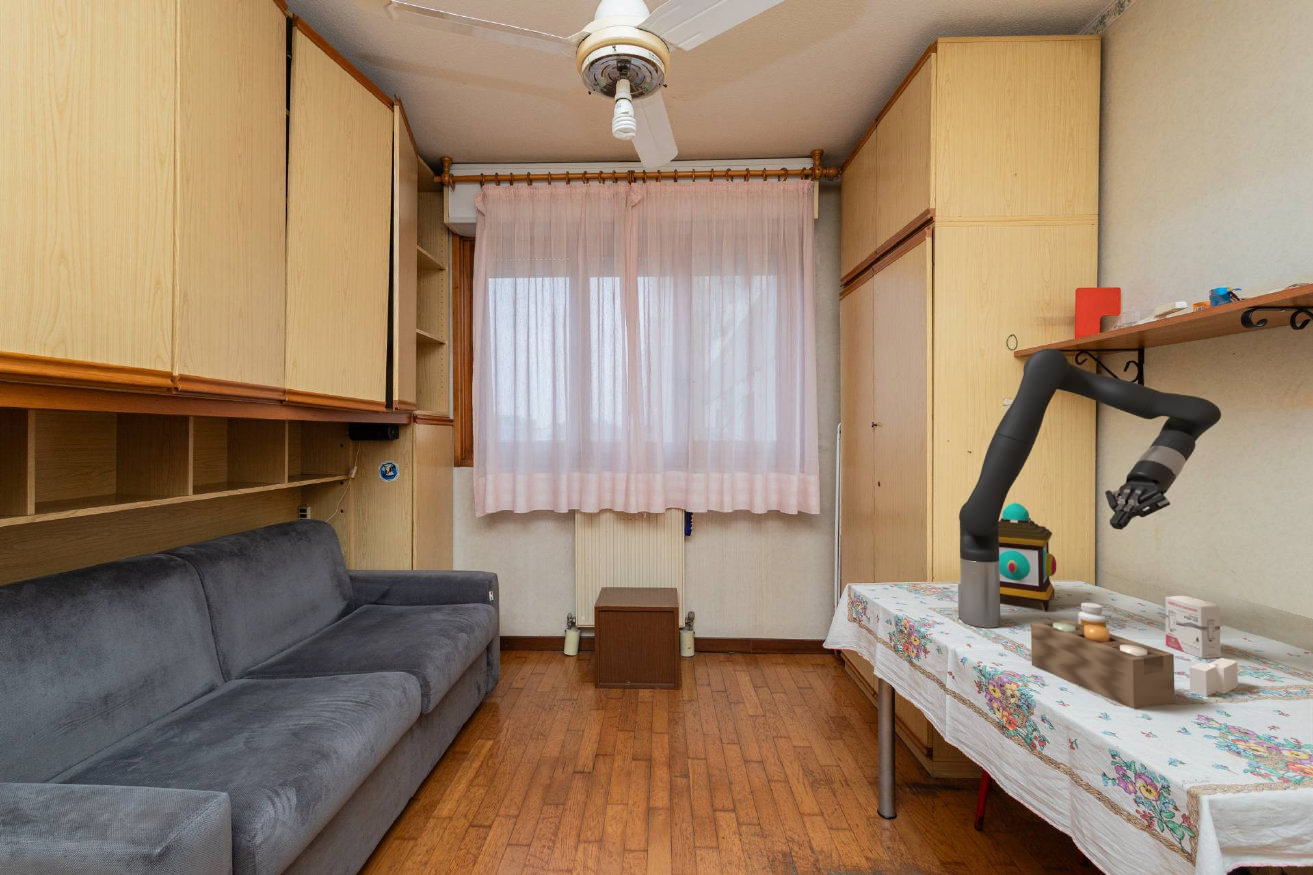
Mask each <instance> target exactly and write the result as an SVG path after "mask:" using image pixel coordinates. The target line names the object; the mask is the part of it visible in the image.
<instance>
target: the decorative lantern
mask: <svg viewBox="0 0 1313 875" xmlns="http://www.w3.org/2000/svg"><path fill="white" fill-rule="evenodd" d="M1001 514H1002V516H1001V518H1000V519H999V522H998V528H999V572H1000V597H1006V598H1013V599H1019V600H1026V601H1032V602H1039V603H1041V606H1042V610H1043V612H1045V613H1047V612H1048V611H1049V608H1050V601H1051V600H1053V599H1054V598H1055V588H1054V586H1053V584H1052V582H1051V580H1050V577H1053V576H1054V575H1055V574H1056V573H1057V560H1056V558H1055V556H1054V554H1051V553H1049V552H1050V550H1049V547H1050V546H1049V544H1050V543H1049V542H1050V540H1051V538H1052V536H1053V532H1052V531H1050V529H1049V528H1047V527H1046V526H1045V525H1044V526H1043V525H1039V524H1038V523H1036V522H1035V521H1034V520H1032V519H1031V517H1030V513H1029V510H1028V509H1026V507H1025V506H1024V505H1022V504H1020V503H1017V502H1013V503H1010V504H1008V505H1007V506H1006V507H1005V508H1003V509H1002V512H1001Z"/></svg>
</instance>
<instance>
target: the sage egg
mask: <svg viewBox="0 0 1313 875" xmlns="http://www.w3.org/2000/svg"><path fill="white" fill-rule="evenodd" d="M1053 627H1054V628H1057V629H1060V630H1063V631H1065V632H1067V631H1076V627H1075V626H1074V625H1071V624H1067V623H1060V622H1056V623H1053Z"/></svg>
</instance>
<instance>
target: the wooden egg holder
mask: <svg viewBox="0 0 1313 875" xmlns="http://www.w3.org/2000/svg"><path fill="white" fill-rule="evenodd" d="M1056 622H1060V623H1067V624H1071V625H1074V626H1075V627H1076V631H1067V632H1065V631H1063V630H1060V629H1057V628H1054V627H1053V623H1056ZM1030 635H1031V636H1030V637H1031V638H1030V639H1031V640H1030V641H1031V643H1030V644H1031V646H1030V647H1031V648H1030V649H1031V666H1033V667H1035V668H1037V669H1039V670H1043V671H1044V672H1046V673H1049V674H1051V675H1054V676H1056V677H1059V678H1060V679H1063V680H1065V681H1067V682H1070V683H1072V684H1074V685H1077V686H1080V687H1082V688H1084V689H1086V690H1089V691H1091V692H1094V693H1095V694H1098V695H1100V696H1103V697H1104V698H1107V699H1109V700H1112V701H1114V702H1117V703H1119V704H1122V705H1123V706H1125V707H1128V708H1130V709H1133V708H1134V709H1133V710H1136V709H1135V708H1137V709H1143V708H1148V706H1149V707H1153V706H1160V705H1167V704H1171V703H1170V702H1173V703H1175V702H1176V701H1175V700H1176V698H1175V697H1176V696H1175V693H1176V692H1175V659H1174V657H1175V656H1174V655H1175V654H1174V653H1171V652H1168V651H1166V650H1162V649H1159V648H1156V647H1153V646H1150V645H1147V644H1144V643H1140V642H1137V641H1134V640H1131V639H1128V638H1126V637H1125V638H1124V637H1121V636H1120V635H1115V634H1112V633H1109V642H1104V643H1098V642H1095V641H1092V640H1089V639H1086V638H1084V625H1081V624H1078V622H1075V621H1072V620H1068V619H1065V620H1064V619H1063V620H1057V621H1055V620H1054V621H1046V622H1036V623H1030ZM1120 645H1133V646H1138V647H1142V648H1144V649H1146V650H1147V655H1142V656H1135V655H1132V654H1130V653H1127V652H1124V651H1121V650H1120ZM1142 707H1143V708H1142Z"/></svg>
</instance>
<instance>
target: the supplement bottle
mask: <svg viewBox="0 0 1313 875" xmlns="http://www.w3.org/2000/svg"><path fill="white" fill-rule="evenodd" d="M1080 605H1081V606H1080V608H1081V610H1082V611H1080V612H1078V614H1077V623H1078V624H1081V625H1084V626H1085V625H1097V626H1102V627H1105V628H1107V618H1106V616H1105V615H1104V614H1102V613H1103V606H1102V605H1101V604H1098V603H1094V602H1082V603H1081V604H1080Z"/></svg>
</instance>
